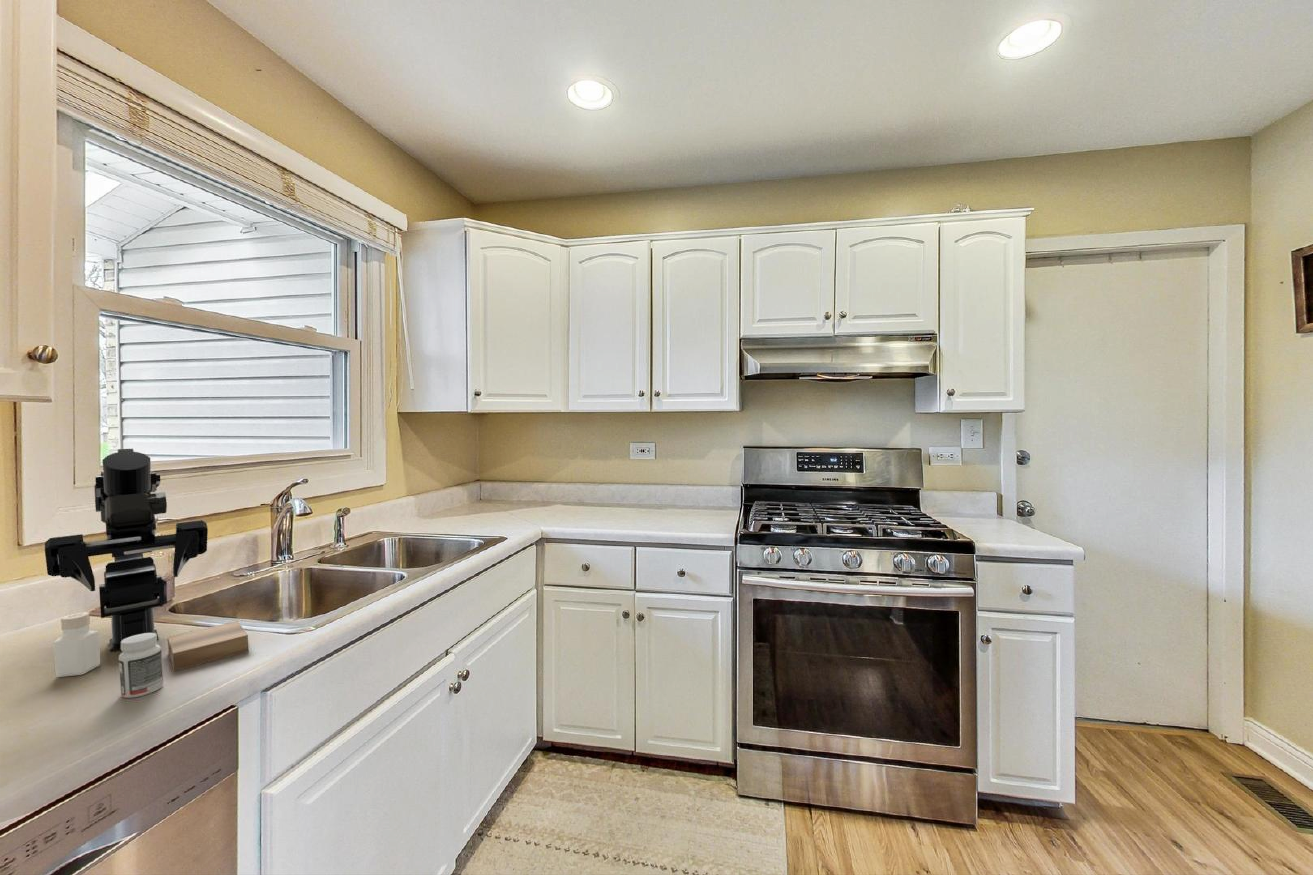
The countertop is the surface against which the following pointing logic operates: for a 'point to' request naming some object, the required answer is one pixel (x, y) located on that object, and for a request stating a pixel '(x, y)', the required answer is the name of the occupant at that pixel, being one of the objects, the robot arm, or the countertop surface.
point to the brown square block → (207, 645)
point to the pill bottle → (140, 665)
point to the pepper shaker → (76, 646)
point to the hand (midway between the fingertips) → (136, 581)
